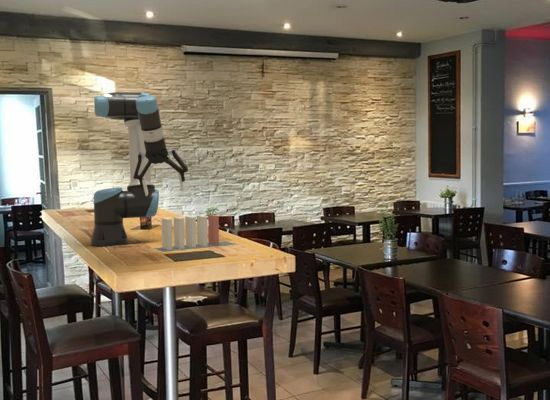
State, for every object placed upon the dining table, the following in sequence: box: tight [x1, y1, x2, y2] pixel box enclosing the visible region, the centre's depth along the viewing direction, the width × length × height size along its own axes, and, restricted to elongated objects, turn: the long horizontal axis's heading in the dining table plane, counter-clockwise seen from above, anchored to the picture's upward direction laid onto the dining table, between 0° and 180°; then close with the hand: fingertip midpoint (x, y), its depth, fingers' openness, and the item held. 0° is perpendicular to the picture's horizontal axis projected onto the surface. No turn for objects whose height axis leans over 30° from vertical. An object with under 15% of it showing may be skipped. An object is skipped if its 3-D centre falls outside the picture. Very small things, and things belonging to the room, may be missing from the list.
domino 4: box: [196, 214, 209, 247], centre depth 247 cm, size 2×6×12 cm, turn 32°
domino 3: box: [184, 215, 197, 248], centre depth 245 cm, size 2×6×12 cm, turn 31°
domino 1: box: [161, 217, 173, 250], centre depth 240 cm, size 2×6×12 cm, turn 31°
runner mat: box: [153, 240, 237, 253], centre depth 246 cm, size 10×32×1 cm, turn 121°
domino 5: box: [207, 214, 220, 246], centre depth 250 cm, size 2×6×12 cm, turn 32°
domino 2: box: [173, 216, 185, 249], centre depth 242 cm, size 2×6×12 cm, turn 31°
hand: (164, 192), depth 233 cm, fingers open, 13 cm apart
